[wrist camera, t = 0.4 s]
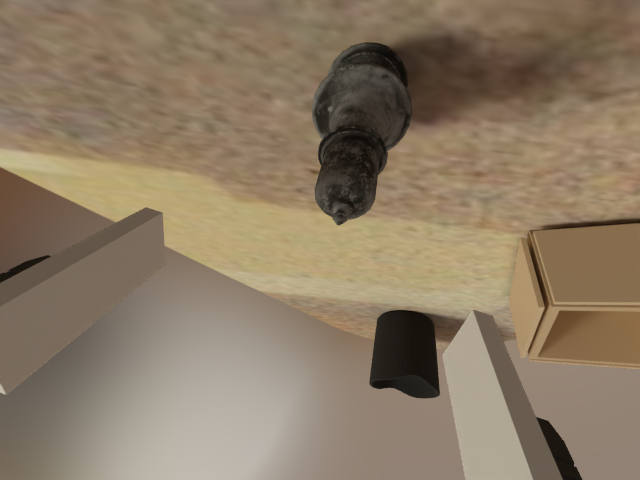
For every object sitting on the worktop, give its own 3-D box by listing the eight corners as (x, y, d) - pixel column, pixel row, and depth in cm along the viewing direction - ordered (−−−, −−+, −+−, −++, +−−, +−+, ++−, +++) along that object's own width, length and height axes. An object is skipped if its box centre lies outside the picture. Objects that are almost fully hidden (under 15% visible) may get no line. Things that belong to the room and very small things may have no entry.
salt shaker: (428, 97, 20) (435, 243, 13) (355, 141, 23) (329, 272, 16) (380, 12, 16) (354, 142, 9) (304, 77, 20) (244, 206, 13)
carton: (520, 225, 27) (540, 301, 22) (735, 208, 22) (817, 303, 17) (507, 297, 36) (519, 360, 32) (654, 297, 31) (692, 372, 27)
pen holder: (394, 335, 53) (392, 397, 47) (363, 313, 48) (356, 379, 42) (447, 329, 47) (451, 399, 41) (417, 303, 42) (417, 379, 36)
